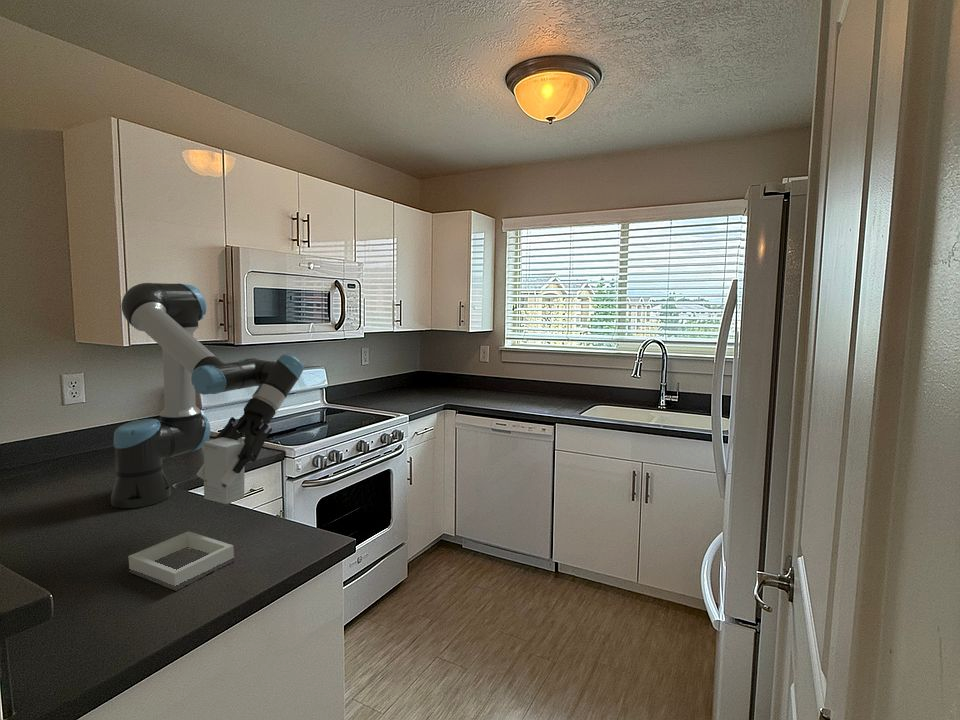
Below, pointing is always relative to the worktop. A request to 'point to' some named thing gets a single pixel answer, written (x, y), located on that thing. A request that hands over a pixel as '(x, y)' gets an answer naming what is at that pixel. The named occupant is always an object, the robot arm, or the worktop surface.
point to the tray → (147, 557)
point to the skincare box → (222, 470)
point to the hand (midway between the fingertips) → (212, 480)
